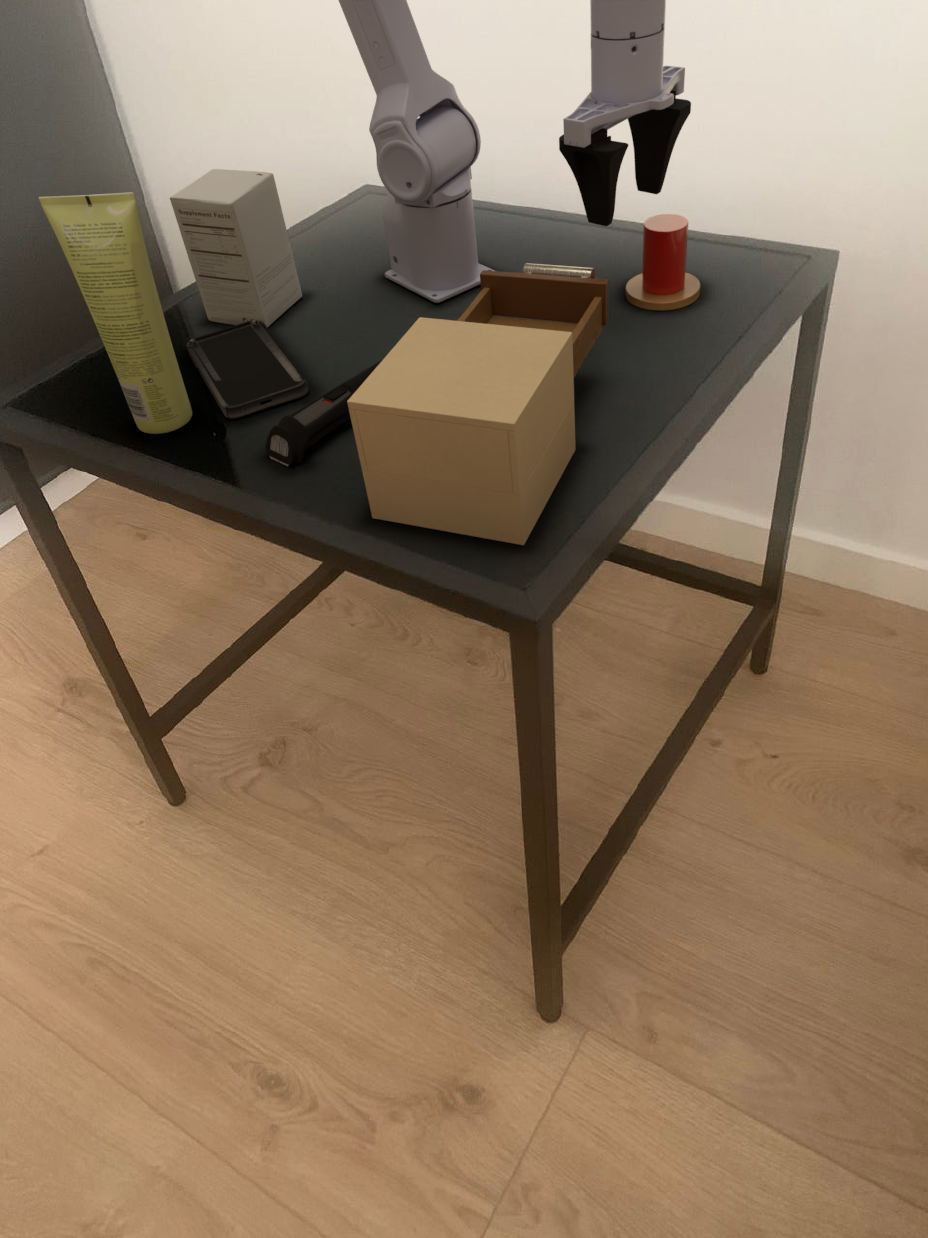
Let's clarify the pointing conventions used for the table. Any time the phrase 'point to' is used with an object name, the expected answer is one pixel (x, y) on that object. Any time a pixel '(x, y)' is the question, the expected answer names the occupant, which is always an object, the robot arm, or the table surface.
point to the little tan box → (467, 427)
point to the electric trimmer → (313, 421)
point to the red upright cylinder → (664, 254)
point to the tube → (123, 302)
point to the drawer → (545, 302)
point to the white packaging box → (238, 246)
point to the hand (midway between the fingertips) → (625, 206)
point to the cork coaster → (662, 302)
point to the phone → (246, 369)
